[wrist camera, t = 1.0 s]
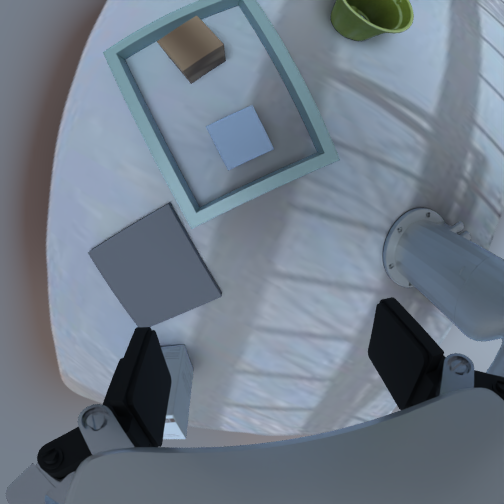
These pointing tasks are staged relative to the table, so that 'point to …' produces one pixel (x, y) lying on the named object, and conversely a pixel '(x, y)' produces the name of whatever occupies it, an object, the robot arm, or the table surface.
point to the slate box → (239, 137)
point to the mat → (155, 269)
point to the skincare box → (178, 391)
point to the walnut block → (193, 49)
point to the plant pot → (371, 17)
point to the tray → (207, 5)
